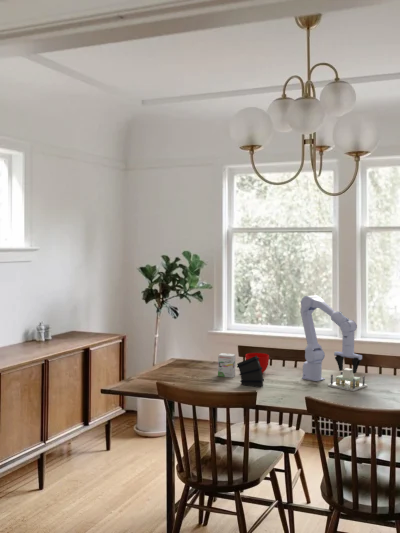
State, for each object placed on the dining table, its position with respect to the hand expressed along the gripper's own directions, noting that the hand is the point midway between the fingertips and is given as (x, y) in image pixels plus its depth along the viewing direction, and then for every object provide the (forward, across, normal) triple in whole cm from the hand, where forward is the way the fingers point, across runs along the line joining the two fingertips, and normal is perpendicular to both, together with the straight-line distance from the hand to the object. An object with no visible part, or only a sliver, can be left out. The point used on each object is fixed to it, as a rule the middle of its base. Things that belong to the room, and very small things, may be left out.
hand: (347, 371), depth 286 cm
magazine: (+8, +35, +34) cm, 49 cm away
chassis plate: (+7, 0, 0) cm, 7 cm away
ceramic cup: (+8, +51, +7) cm, 52 cm away
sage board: (+4, 0, 0) cm, 4 cm away
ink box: (+8, +57, +27) cm, 63 cm away
